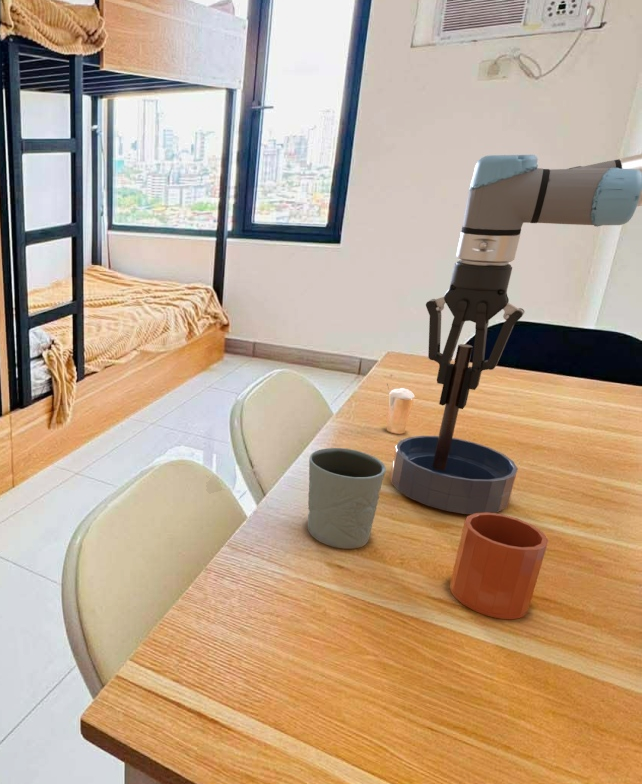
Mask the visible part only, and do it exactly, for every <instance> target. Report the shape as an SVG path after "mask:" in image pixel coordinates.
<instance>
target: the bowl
mask: <svg viewBox="0 0 642 784" xmlns="http://www.w3.org/2000/svg"><path fill="white" fill-rule="evenodd" d="M438 437H439V435H417V436H409V437H406V438H403V439H401V440H399V441H398V443H397V444H396V445H395V448H394V453H393V457H392V465H391V469H390V474H389V475H390V476H389V477H390V482H391V485H393V486H394V488H395V489H396V490H397V491H398V492H400V493H401V494H403V495H404V496H406V497H407V498H409V499H411V500H413V501H416V502H418V503H420V504H423V505H425V506H428V507H431V508H435V509H439V510H440V511H441V510H442V511H445V512H450V513H456V514H463V515H472V514H474V513H486V512H487V513H496V514H497V513H499V512H501V511H503V510H505V509H506V508H508V506H509V504H510V501H511V496H512V493H513V489H514V485H515V481H516V477H517V474H518V466H517V464H516V463H515V462H514V460H512V459H511V458H510V457H508V456H507V455H506V454H504V453H502V452H500V451H498V450H496V449H494V448H492V447H489V446H486V445H483V444H480V443H477V442H474V441H470V440H465V439H461V438H457V437H453V438H452V442H451V447H450V451H449V456H448V460H447V465H446V469H445V470H444V471H439V470H436V469H434V468H432V465H433V460H434V456H435V451H436V446H437V442H438Z"/></svg>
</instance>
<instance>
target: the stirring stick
mask: <svg viewBox="0 0 642 784" xmlns="http://www.w3.org/2000/svg"><path fill="white" fill-rule="evenodd" d="M456 348H457V349H456V354H455V359H454V362H453V364H454V367H453V372H452V377H451V381H450V386H449V391H448V395H447V400H446V404H445V405H444V409H443V414H442V419H441V423H440V428H439V433H438V436H439V437H438V442H437V446H436V451H435V456H434V460H433V465H432V468H434V469H436V470H439V471H444V470H445V469H446V465H447V460H448V456H449V451H450V447H451V442H452V438H454V432H455V428H456V424H457V419H458V415H459V410H460V409H459V408H458V403H459V399H460V394H461V390H462V385H463V381H464V376H465V372H466V370H467V369H468V367H470V361H471V358H472V357H471V356H472V354H473V349H474V345H473V346H472V345H471V344H466V343H463V344H462V343H459V344H457V347H456Z"/></svg>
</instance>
